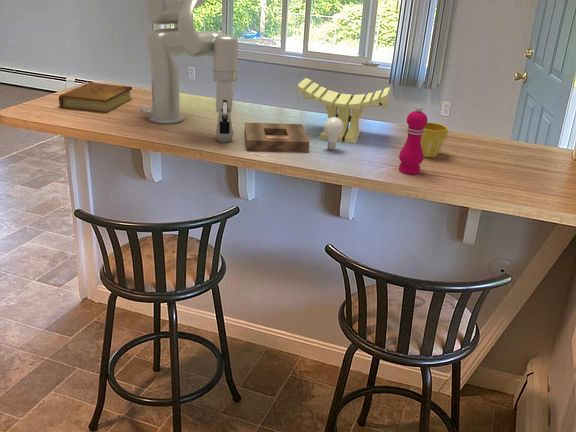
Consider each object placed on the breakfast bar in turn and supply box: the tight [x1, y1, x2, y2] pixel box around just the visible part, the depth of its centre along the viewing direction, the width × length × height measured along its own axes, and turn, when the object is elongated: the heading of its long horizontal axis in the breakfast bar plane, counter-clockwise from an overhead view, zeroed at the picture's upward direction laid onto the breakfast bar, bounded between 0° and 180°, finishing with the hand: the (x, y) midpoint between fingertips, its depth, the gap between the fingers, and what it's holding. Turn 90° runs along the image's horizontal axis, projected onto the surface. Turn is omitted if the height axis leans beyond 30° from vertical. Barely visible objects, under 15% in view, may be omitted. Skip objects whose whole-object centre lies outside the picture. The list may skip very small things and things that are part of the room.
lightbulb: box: [323, 117, 343, 151], centre depth 187 cm, size 6×6×11 cm
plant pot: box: [421, 121, 449, 158], centre depth 189 cm, size 10×10×10 cm
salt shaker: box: [215, 110, 234, 143], centre depth 189 cm, size 6×6×13 cm
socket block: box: [244, 122, 310, 153], centre depth 192 cm, size 20×20×4 cm
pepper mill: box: [398, 106, 429, 175], centre depth 171 cm, size 7×7×20 cm
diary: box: [58, 82, 133, 114], centre depth 222 cm, size 23×19×6 cm
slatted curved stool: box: [296, 77, 391, 144], centre depth 201 cm, size 30×16×18 cm, turn 76°
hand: (224, 129), depth 190 cm, fingers open, 6 cm apart
